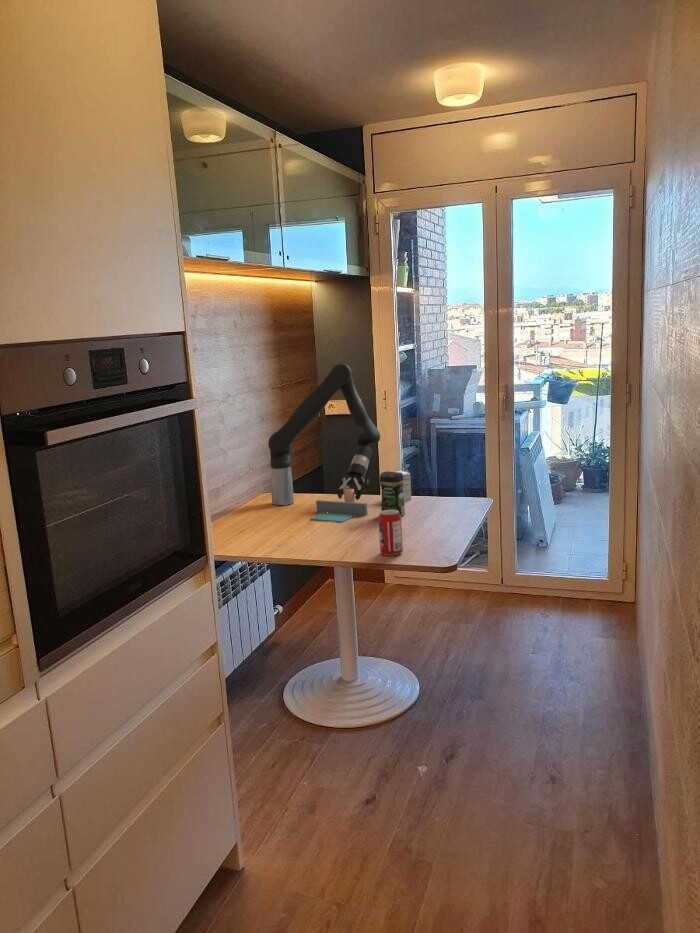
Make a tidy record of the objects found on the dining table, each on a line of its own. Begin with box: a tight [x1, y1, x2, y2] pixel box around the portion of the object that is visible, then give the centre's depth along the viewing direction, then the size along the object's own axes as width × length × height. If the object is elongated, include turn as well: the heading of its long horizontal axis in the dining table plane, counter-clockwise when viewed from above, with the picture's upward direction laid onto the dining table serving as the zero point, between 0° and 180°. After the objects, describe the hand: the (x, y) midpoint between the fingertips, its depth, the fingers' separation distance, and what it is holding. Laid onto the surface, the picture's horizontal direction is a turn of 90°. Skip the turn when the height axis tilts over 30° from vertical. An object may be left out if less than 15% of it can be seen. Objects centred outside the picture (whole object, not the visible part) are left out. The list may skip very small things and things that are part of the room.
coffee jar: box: [379, 470, 406, 518], centre depth 302 cm, size 10×8×19 cm
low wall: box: [315, 499, 368, 517], centre depth 313 cm, size 24×2×5 cm, turn 61°
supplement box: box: [396, 470, 412, 502], centre depth 329 cm, size 7×7×13 cm
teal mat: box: [309, 512, 357, 523], centre depth 307 cm, size 16×11×1 cm
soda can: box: [378, 509, 404, 557], centre depth 252 cm, size 8×8×15 cm
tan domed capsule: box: [343, 487, 356, 503], centre depth 319 cm, size 4×4×9 cm
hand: (348, 498), depth 317 cm, fingers open, 8 cm apart
